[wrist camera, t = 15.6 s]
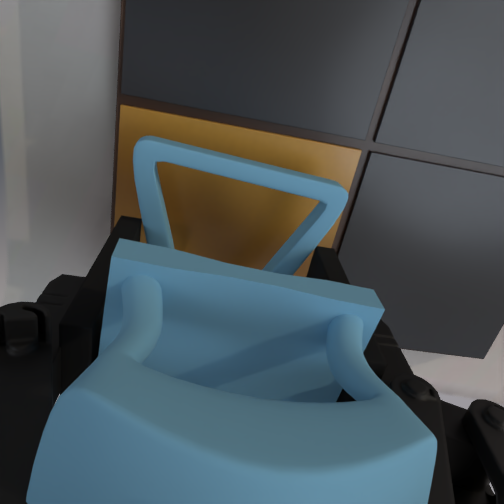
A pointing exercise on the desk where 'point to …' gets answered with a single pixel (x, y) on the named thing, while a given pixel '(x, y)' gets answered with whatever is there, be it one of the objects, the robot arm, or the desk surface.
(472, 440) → the robot arm
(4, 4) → the desk surface
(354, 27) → the board
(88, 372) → the chair
